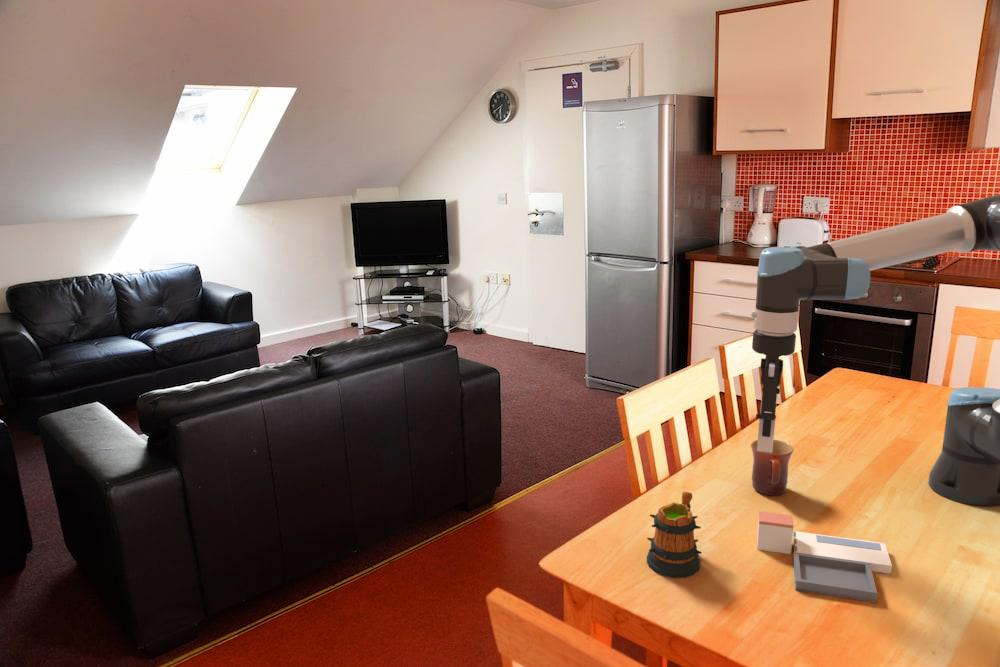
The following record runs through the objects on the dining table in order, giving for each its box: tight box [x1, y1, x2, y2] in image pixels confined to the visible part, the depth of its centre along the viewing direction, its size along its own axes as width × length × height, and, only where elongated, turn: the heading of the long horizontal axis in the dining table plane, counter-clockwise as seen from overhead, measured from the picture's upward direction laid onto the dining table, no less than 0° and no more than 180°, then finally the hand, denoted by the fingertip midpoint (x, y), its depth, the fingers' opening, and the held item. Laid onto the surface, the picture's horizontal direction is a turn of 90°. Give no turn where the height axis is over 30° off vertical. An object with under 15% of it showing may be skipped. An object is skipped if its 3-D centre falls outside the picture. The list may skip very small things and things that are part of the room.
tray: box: [792, 551, 878, 603], centre depth 131 cm, size 13×10×2 cm
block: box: [756, 510, 794, 555], centre depth 142 cm, size 6×4×6 cm, turn 71°
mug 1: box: [646, 491, 702, 579], centre depth 137 cm, size 13×10×12 cm
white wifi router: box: [792, 530, 893, 575], centre depth 139 cm, size 16×8×2 cm, turn 71°
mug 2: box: [750, 439, 794, 496], centre depth 162 cm, size 12×9×10 cm
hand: (765, 437), depth 144 cm, fingers open, 13 cm apart
